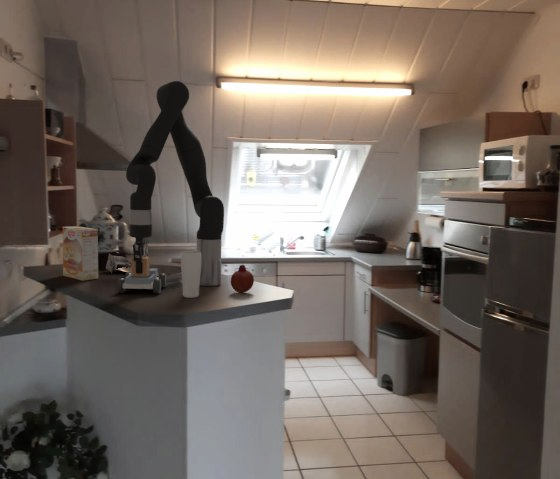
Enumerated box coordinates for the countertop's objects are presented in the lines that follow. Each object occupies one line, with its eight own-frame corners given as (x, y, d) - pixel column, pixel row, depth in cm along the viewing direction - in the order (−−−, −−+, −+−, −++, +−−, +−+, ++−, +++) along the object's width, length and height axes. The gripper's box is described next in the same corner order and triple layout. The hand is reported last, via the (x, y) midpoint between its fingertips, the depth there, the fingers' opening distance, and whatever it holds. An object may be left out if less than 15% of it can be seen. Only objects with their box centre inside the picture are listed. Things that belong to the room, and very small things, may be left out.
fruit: (248, 296, 181) (248, 267, 180) (226, 294, 184) (227, 265, 183) (257, 292, 189) (257, 264, 188) (236, 290, 192) (237, 262, 191)
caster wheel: (137, 278, 223) (114, 277, 216) (126, 269, 231) (104, 268, 225) (140, 263, 222) (118, 262, 215) (130, 255, 230) (107, 253, 224)
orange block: (149, 273, 187) (149, 256, 186) (146, 276, 182) (146, 258, 181) (135, 273, 186) (134, 256, 186) (131, 275, 181) (131, 258, 181)
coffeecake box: (62, 275, 211) (61, 226, 209) (79, 273, 217) (78, 226, 215) (81, 280, 202) (81, 229, 200) (99, 278, 207) (98, 228, 205)
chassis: (166, 285, 196) (166, 268, 195) (158, 294, 180) (158, 275, 179) (127, 285, 195) (127, 267, 195) (116, 294, 179) (116, 275, 179)
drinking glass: (191, 299, 174) (192, 254, 173) (176, 296, 178) (176, 252, 176) (205, 296, 180) (205, 252, 178) (190, 293, 183) (190, 250, 182)
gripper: (147, 224, 175) (147, 275, 177) (155, 221, 190) (155, 269, 191) (124, 224, 175) (124, 275, 177) (134, 221, 189) (134, 268, 191)
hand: (140, 271), depth 184 cm, fingers closed on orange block, 5 cm apart
